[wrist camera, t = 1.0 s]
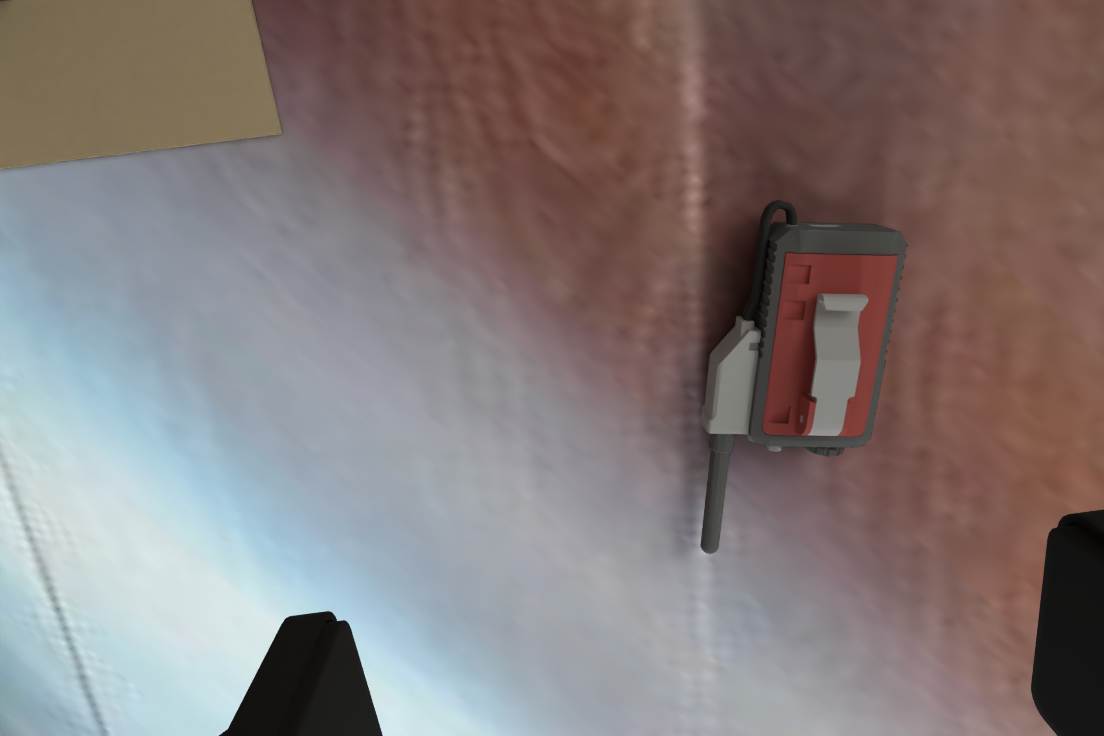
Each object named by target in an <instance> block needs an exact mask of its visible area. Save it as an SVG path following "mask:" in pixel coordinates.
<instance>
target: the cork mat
mask: <svg viewBox="0 0 1104 736" xmlns="http://www.w3.org/2000/svg"><path fill="white" fill-rule="evenodd" d="M278 134H282V129H281V125H280V121H279V117H278V112H277V108H276V104H275V99H274V95H273V91H272V86H271V82H270V78H269V74H268V69H267V65H266V61H265V56H264V52H263V48H262V43H261V39H260V35H259V31H258V26H257V22H256V18H255V13H254V9H253V5H252V0H9V1H1V2H0V169H6V168H14V167H22V166H30V165H38V164H46V163H54V162H62V161H70V160H78V159H86V158H94V157H102V156H110V155H118V154H126V153H134V152H142V151H150V150H158V149H166V148H174V147H182V146H190V145H198V144H206V143H214V142H222V141H230V140H238V139H246V138H254V137H262V136H270V135H278Z"/></svg>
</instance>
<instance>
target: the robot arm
mask: <svg viewBox="0 0 1104 736" xmlns="http://www.w3.org/2000/svg"><path fill="white" fill-rule="evenodd" d="M1031 692H1032V696H1033V700H1034V703H1035V705H1036V707H1037V709H1038V711H1039V713H1040V715H1041V716H1042V717H1043V719H1044V720H1045V721H1046V722H1047V724H1048V725H1049V726H1050V727H1051V728H1052V730H1053V731H1054V732H1055V733H1056V734H1057V736H1104V510H1098V511H1090V512H1082V513H1075V514H1068V515H1066V516H1063V517H1062V519H1061V520H1060V521H1059V524H1058V527H1057V528H1054V529H1052V530H1051V531H1050V532H1049V535H1048V539H1047V548H1046V557H1045V566H1044V575H1043V584H1042V593H1041V602H1040V611H1039V620H1038V629H1037V638H1036V647H1035V656H1034V665H1033V674H1032V683H1031ZM219 736H383V735H382V732H381V728H380V725H379V722H378V718H377V715H376V712H375V708H374V705H373V702H372V698H371V695H370V691H369V688H368V685H367V681H366V678H365V675H364V671H363V668H362V665H361V661H360V658H359V655H358V651H357V648H356V644H355V641H354V638H353V634H352V631H351V628H350V626H349V624H348V622H347V621H344V620H343V621H337V619H336V617H335V615H334V614H333V613H332V612H329V611H326V612H319V613H311V614H303V615H296V616H289V617H288V618H286V619H285V620H284V622H283V623H282V624H281V626H280V628H279V630H278V632H277V634H276V636H275V638H274V640H273V642H272V644H271V646H270V648H269V650H268V652H267V654H266V656H265V658H264V660H263V662H262V664H261V665H260V667H259V669H258V671H257V673H256V675H255V677H254V679H253V681H252V683H251V685H250V687H249V689H248V691H247V693H246V695H245V697H244V699H243V701H242V703H241V705H240V706H239V708H238V710H237V712H236V714H235V716H234V718H233V720H232V722H231V724H230V726H229V728H228V730H226V731H225V732H223V733H222V734H221V735H219Z"/></svg>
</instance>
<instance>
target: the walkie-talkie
mask: <svg viewBox="0 0 1104 736" xmlns="http://www.w3.org/2000/svg"><path fill="white" fill-rule="evenodd" d="M777 209H783V210H784V211H785V212H786V222H774V223H773V224H771V225H770V221H771V218H772V216H773V214H774V212H775V211H776V210H777ZM906 247H908V244H907V243H906V241H905V239H904V238H903V236H902V235H901V233H900V231H896V230H893V229H890V228H886V227H883V226H880V225H876V224H847V223H804V222H797V215H796V211H795V208H794V207H793V206H792V204H790V203H787V202H784V201H781V200H776V201H772V202H771V203H770V204H768V205H767V206H766V207H765V209H764V212H763V214H762V216H761V219H760V227H759V235H758V244H757V252H756V260H755V268H754V276H753V285H752V291H751V296H750V299H749V302H748V303H747V305H746V306H745V308H744V310H743V313H742V316H736V323H735V326H734V327H733V329H732V330H731V331H730V332H729V333H728V334H727V335H726V336H725V337H724V338H723V340H722V341H721V342H720V343H719V344H718V345H717V346H716V347H715V348H714V350H713V351H712V352H711V354H710V359H709V368H708V377H707V387H706V396H705V405H704V406H703V407H702V409H701V420H700V421H701V422H702V424H703V426H704V428H705V430H706V432H708V433H710V440H709V447H710V448H711V453H710V463H709V472H708V481H707V491H706V500H705V509H704V519H703V528H702V537H701V548H702V550H703V551H704V552H706V553H709V554H712V553H714V552H716V551H717V549H718V546H719V538H720V530H721V521H722V513H723V505H724V497H725V488H726V480H727V472H728V464H729V456H730V451H732V449H733V445H734V437H735V434H747V436H746V439H747V440H748V441H750V442H754V443H755V444H759V445H765V446H766V449H768V450H770V451H774V452H778V451H781V448H782V447H805V448H806V449H807V450H809V451H810V452H812V453H814V454H818V455H822V456H829V457H832V456H838V455H840V454H842V453H843V451H844V448H855V447H859V446H864V445H865V444H866V443H867V442H868V441H869V440H870V439H871V435H872V430H873V425H874V420H875V414H876V409H877V404H878V399H879V394H880V388H881V383H882V378H883V373H884V368H885V362H886V361H885V355H886V354H887V352H888V351H887V350H886V349H887V344H889V341H890V340H888V339H889V334H890V333H891V331H892V330H891V323H893V319H892V318H893V313H894V312H895V310H896V309H895V303H896V302H897V300H898V298H896V297H897V292H898V291H899V289H900V287H899V282H900V280H901V279H902V276H901V271H902V269H904V265H903V261H904V258H906V254H905V251H906Z"/></svg>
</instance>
